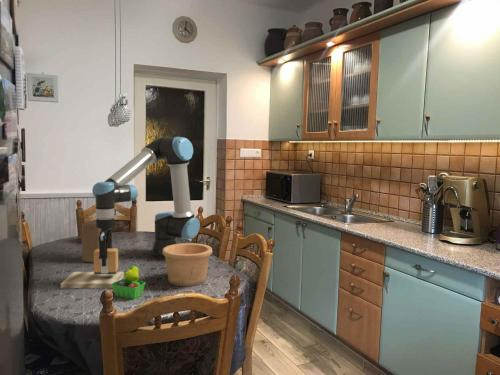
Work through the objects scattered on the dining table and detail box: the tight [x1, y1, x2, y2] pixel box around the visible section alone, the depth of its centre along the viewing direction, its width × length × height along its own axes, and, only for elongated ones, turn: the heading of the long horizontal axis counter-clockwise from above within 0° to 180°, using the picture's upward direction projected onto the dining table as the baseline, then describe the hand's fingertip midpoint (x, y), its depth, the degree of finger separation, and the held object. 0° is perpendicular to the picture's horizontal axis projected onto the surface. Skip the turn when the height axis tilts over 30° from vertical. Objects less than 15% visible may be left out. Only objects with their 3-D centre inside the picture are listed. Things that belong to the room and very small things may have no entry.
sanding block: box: [93, 247, 119, 274], centre depth 173 cm, size 9×5×10 cm, turn 96°
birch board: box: [60, 271, 125, 289], centre depth 173 cm, size 22×16×2 cm
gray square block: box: [54, 277, 67, 285], centre depth 171 cm, size 4×4×2 cm
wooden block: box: [81, 220, 101, 264], centre depth 204 cm, size 10×10×20 cm
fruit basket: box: [112, 264, 147, 300], centre depth 158 cm, size 11×9×11 cm
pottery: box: [162, 242, 213, 287], centre depth 178 cm, size 22×22×14 cm
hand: (106, 270), depth 173 cm, fingers closed on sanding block, 5 cm apart
